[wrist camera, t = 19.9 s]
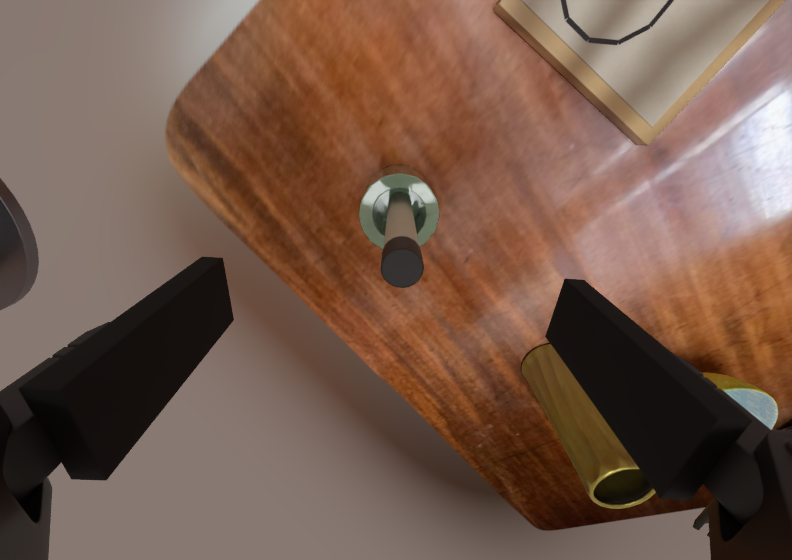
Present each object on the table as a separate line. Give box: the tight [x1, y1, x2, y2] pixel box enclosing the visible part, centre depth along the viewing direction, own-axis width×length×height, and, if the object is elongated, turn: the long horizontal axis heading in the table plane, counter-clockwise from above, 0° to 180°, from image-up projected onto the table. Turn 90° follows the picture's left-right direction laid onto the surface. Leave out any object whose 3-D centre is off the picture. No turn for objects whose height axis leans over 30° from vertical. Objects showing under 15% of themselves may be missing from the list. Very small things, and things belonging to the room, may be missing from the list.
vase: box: [522, 344, 655, 509], centre depth 31 cm, size 6×6×14 cm
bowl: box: [701, 372, 778, 430], centre depth 36 cm, size 11×12×6 cm
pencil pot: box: [359, 165, 439, 249], centre depth 27 cm, size 6×6×6 cm
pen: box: [381, 192, 424, 288], centre depth 22 cm, size 2×2×15 cm
